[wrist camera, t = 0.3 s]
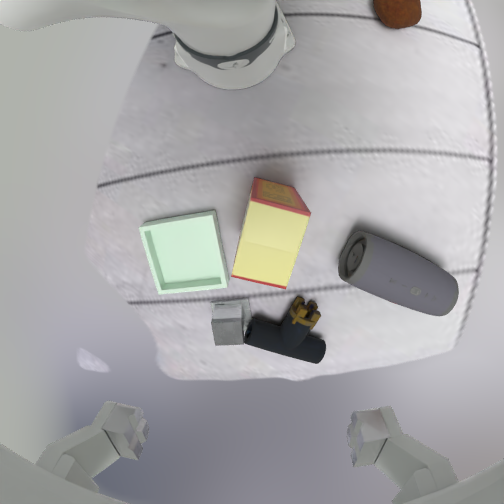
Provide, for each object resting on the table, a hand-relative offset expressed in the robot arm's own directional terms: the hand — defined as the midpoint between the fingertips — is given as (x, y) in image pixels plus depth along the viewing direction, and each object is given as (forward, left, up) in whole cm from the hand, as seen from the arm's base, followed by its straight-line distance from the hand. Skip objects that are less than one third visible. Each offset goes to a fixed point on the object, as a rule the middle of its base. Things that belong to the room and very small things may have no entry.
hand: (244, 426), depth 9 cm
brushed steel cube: (+21, -8, -38) cm, 44 cm away
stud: (+21, -8, -39) cm, 45 cm away
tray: (+7, -13, -39) cm, 42 cm away
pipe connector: (+24, +3, -39) cm, 46 cm away
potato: (-32, +28, -39) cm, 58 cm away
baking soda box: (+2, +1, -39) cm, 39 cm away
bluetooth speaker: (+15, +23, -39) cm, 48 cm away
